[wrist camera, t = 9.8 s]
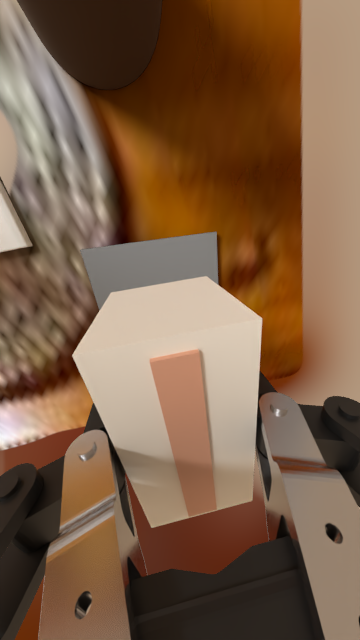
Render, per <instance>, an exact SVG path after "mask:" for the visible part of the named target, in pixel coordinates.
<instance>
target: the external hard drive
mask: <svg viewBox="0 0 360 640" xmlns="http://www.w3.org/2000/svg"><path fill="white" fill-rule="evenodd" d="M31 246H33V245H32V243H31V241H30V239H29V237H28V235H27V233H26V231H25V229H24V227H23V225H22V223H21V221H20V219H19V217H18V215H17V213H16V211H15V209H14V207H13V205H12V203H11V200H10V198H9V193H8V191H7V189H6V187H5V185H4V183H3V181H2V179H1V177H0V253H1V252H6V251H11V250H16V249H21V248H26V247H31Z"/></svg>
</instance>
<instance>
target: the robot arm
mask: <svg viewBox="0 0 360 640" xmlns="http://www.w3.org/2000/svg"><path fill="white" fill-rule="evenodd" d="M255 451H256V456H257V462H258V467H259V473H260V478H261V484H262V489H263V495H264V501H265V507H266V521H267V531H268V537H269V542H265V543H262V544H258V545H255V546H252V547H250V548H249V549H248V550H247V551H245V552H244V553H243V554H242V555H240V556H239V557H238V558H237V559H235V560H234V561H233V562H232V563H230V564H229V565H228V566H227V567H225V568H224V569H223V570H222V571H220V572H219V573H217V574H205V573H197V572H191V571H183V570H176V569H169V570H166V571H162V572H159V573H155V574H151V575H147V571H146V567H145V562H144V558H143V555H142V551H141V548H140V545H139V541H138V537H137V533H136V528H135V522H134V517H133V512H132V507H131V502H130V497H129V492H128V487H127V482H126V478H125V472H126V471H125V469H124V467H123V465H122V463H121V460H120V458H119V456H118V454H117V452H116V450H115V447H114V445H113V443H112V441H111V439H110V437H109V434H108V432H107V430H106V428H105V426H104V424H103V421H102V419H101V417H100V415H99V413H98V411H97V408H96V406H95V404H94V403H93V405H92V408H91V412H90V415H89V418H88V421H87V424H86V427H85V430H84V433H83V434H82V435H81V436H79V437H78V438H77V439H76V440H75V441H74V442H73V443H72V444H71V445H70V447H69V448H68V450H67V452H66V455H64V456H63V457H61V458H59V459H58V460H55V461H54V462H52V463H50V464H48V465H46V466H44V467H42V468H40V469H38V470H37V469H36V468H35V467H34V465H32V464H29V463H25V464H21V465H17V466H15V467H13V468H12V469H10V470H8V471H7V472H5V473H4V474H3V475H1V476H0V640H14V639H15V637H16V635H17V633H18V631H19V628H20V626H21V624H22V622H23V620H24V618H25V616H26V613H27V611H28V609H29V607H30V605H31V603H32V601H33V599H34V596H35V594H36V592H37V590H38V588H39V585H40V584H41V581H42V579H43V577H44V575H45V577H44V587H43V597H42V607H41V617H40V627H39V637H38V640H360V509H359V508H358V506H359V507H360V403H358V402H357V401H354V400H352V399H349V398H346V397H340V396H333V397H329V398H327V399H326V400H325V402H324V405H323V406H312V405H300V404H297V403H296V402H295V401H294V400H293V399H292V398H290V397H288V396H286V395H284V394H281V393H278V392H277V391H276V390H275V389H274V388H273V386H272V385H271V384H270V383H269V381H268V380H267V379H266V378H265V376H264V375H263V374H262V373H261V371H260V370H259V388H258V407H257V425H256V444H255ZM357 505H358V506H357ZM7 547H8V548H7ZM2 555H3V556H2Z"/></svg>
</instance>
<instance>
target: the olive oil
mask: <svg viewBox="0 0 360 640" xmlns="http://www.w3.org/2000/svg"><path fill="white" fill-rule="evenodd" d="M17 2H18V3H19V5H20V7H21V8H22V10H23V12H24V13H25V15H26V17H27V18H28V20H29V22H30V23H31V25H32V27H33V28H34V30H35V32H36V33H37V35H38V37H39V38H40V40H41V41H42V43H43V44H44V46H45V47H46V49H47V50H48V52H49V53H50V54H51V55H52V57H53V58H54V59H55V60H56V61H57V62H58V64H59V65H60V66H61V67H62V68H63V69H64V70H66V71H67V72H68V73H69V74H70V75H72V76H73V77H74V78H76V79H77V80H79V81H80V82H82V83H84V84H86V85H88V86H91V87H94V88H98V89H103V90H113V89H119V88H122V87H125V86H127V85H129V84H130V83H132V82H133V81H134V80H136V79H137V78H138V77H139V76H140V75H141V74H142V72H143V71H144V70H145V68H146V67H147V65H148V63H149V62H150V60H151V57H152V55H153V52H154V50H155V46H156V43H157V39H158V34H159V28H160V21H161V11H162V0H17Z"/></svg>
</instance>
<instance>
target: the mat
mask: <svg viewBox="0 0 360 640" xmlns="http://www.w3.org/2000/svg"><path fill="white" fill-rule="evenodd" d="M80 251H81V254H82V257H83V260H84V264H85V267H86V270H87V273H88V276H89V279H90V282H91V285H92V289H93V292H94V295H95V298H96V301H97V304H98V307H99V310H100V309H101V308H102V306H103V305H104V303H105V301H106V300H107V298H108V297H109V295H110V293H111V292H117V291H123V290H128V289H134V288H140V287H146V286H151V285H157V284H163V283H169V282H175V281H180V280H186V279H192V278H198V277H204V276H207V277H208V278H210V279H211V280H212V281H214V282H215V283H216V284H218V260H217V232H209V233H202V234H194V235H187V236H179V237H172V238H164V239H157V240H149V241H142V242H134V243H127V244H119V245H112V246H104V247H96V248H89V249H82V250H80Z"/></svg>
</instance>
